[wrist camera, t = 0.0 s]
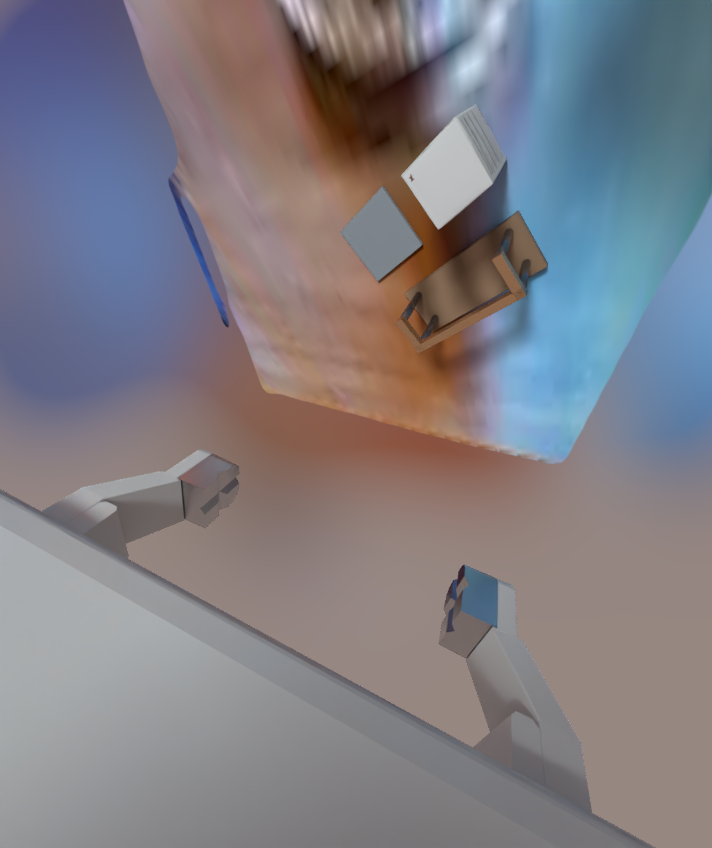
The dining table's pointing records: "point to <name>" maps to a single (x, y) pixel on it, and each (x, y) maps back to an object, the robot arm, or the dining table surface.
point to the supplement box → (455, 167)
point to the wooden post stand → (517, 292)
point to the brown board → (475, 273)
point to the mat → (381, 235)
